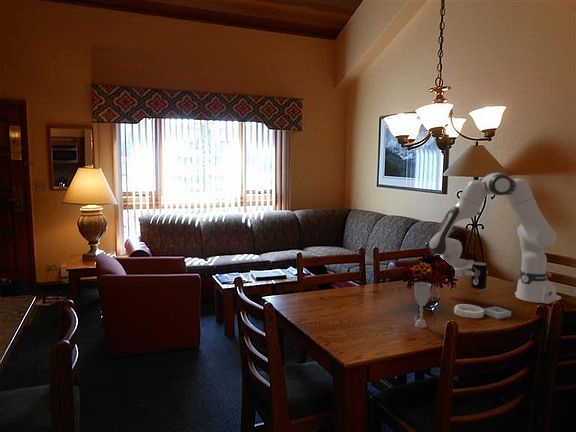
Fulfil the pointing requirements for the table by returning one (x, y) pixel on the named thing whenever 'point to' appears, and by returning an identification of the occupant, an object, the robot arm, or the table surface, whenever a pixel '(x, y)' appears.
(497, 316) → the square holder
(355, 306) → the table surface
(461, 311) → the round collar
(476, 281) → the beverage can
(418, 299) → the chalice
